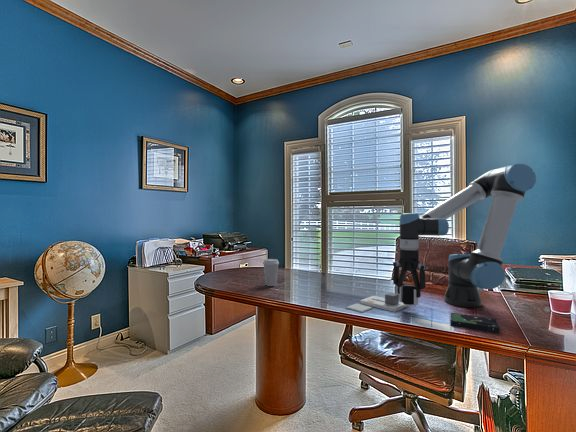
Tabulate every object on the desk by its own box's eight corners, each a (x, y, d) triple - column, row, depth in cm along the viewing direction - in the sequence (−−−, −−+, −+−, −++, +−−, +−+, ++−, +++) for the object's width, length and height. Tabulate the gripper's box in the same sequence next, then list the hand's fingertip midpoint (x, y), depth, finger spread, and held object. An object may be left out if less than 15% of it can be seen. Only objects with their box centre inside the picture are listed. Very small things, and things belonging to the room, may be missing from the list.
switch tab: (398, 303, 132) (398, 294, 132) (393, 305, 128) (393, 296, 128) (390, 301, 135) (390, 292, 135) (384, 303, 131) (384, 294, 131)
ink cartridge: (414, 303, 126) (414, 285, 126) (415, 305, 124) (415, 286, 124) (402, 302, 128) (402, 284, 128) (402, 304, 125) (403, 285, 125)
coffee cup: (264, 283, 176) (264, 258, 176) (280, 284, 175) (280, 259, 175) (261, 287, 167) (261, 260, 167) (277, 287, 165) (277, 261, 166)
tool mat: (372, 308, 128) (372, 307, 128) (362, 312, 123) (362, 311, 123) (356, 304, 134) (356, 303, 134) (346, 308, 129) (346, 306, 129)
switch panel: (407, 306, 132) (407, 302, 132) (395, 312, 124) (395, 308, 124) (373, 298, 145) (373, 295, 145) (360, 303, 136) (360, 300, 136)
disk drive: (495, 326, 110) (450, 318, 117) (495, 318, 110) (450, 311, 117) (499, 336, 101) (450, 327, 108) (499, 327, 101) (450, 319, 108)
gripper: (384, 248, 130) (384, 300, 130) (427, 251, 117) (427, 310, 117) (392, 246, 135) (392, 297, 135) (434, 250, 122) (434, 306, 122)
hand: (408, 303), depth 126 cm, fingers closed on ink cartridge, 5 cm apart
